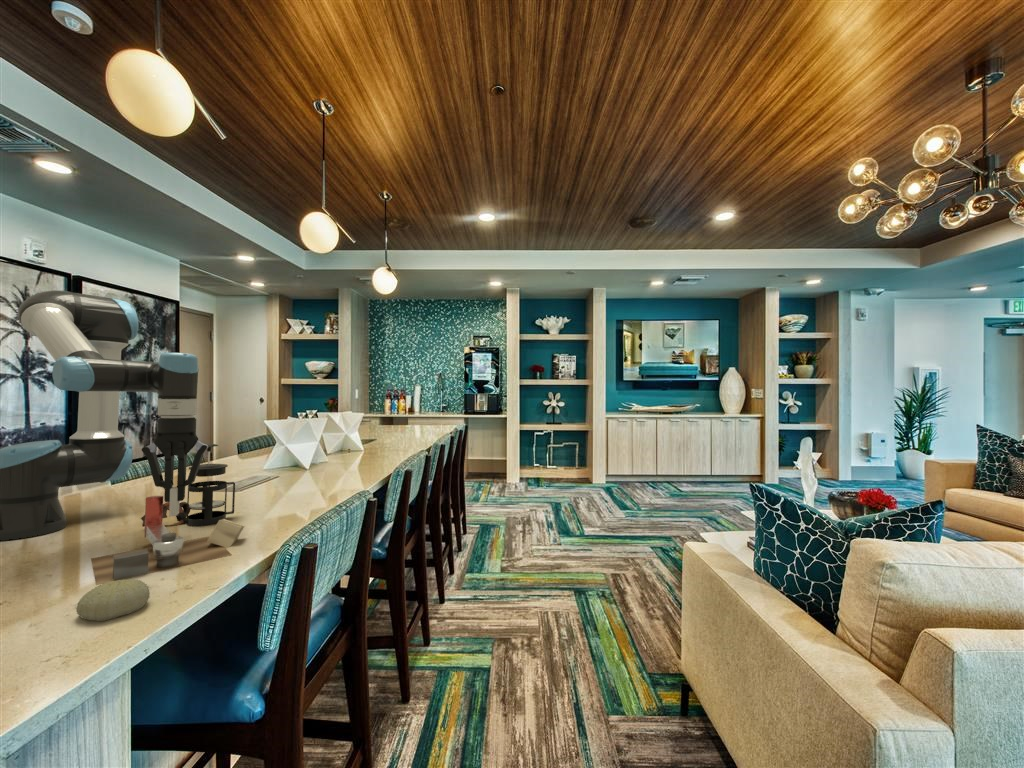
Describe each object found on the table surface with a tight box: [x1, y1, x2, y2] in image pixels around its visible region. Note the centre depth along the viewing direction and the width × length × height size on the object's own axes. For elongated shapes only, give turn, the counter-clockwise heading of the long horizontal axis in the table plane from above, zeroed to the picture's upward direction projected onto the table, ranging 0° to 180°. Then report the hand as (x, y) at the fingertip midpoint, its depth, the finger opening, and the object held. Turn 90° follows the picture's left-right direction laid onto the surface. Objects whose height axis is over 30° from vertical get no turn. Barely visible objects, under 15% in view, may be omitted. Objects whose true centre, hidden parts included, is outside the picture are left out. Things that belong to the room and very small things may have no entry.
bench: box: [90, 532, 233, 586], centre depth 95 cm, size 18×22×8 cm
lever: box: [143, 495, 184, 559], centre depth 97 cm, size 21×5×9 cm, turn 48°
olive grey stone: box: [75, 578, 151, 622], centre depth 75 cm, size 9×8×8 cm
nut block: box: [207, 518, 245, 548], centre depth 105 cm, size 5×5×5 cm
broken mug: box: [140, 501, 191, 528], centre depth 120 cm, size 12×10×8 cm
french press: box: [185, 443, 236, 528], centre depth 121 cm, size 12×9×23 cm
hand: (174, 514), depth 104 cm, fingers closed
